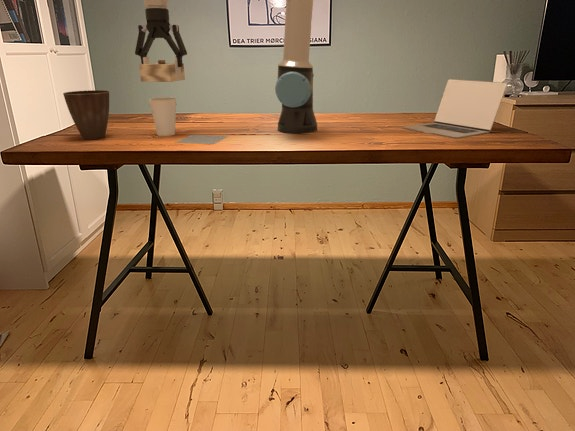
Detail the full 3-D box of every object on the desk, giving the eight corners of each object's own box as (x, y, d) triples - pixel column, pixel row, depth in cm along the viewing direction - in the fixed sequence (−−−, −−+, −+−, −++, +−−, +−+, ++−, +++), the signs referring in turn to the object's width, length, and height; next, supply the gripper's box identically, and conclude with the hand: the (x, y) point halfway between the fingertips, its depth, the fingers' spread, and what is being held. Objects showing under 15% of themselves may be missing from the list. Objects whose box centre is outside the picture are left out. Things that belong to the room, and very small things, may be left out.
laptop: (400, 129, 176) (404, 82, 170) (443, 123, 188) (448, 78, 182) (456, 140, 155) (462, 86, 149) (500, 132, 167) (507, 82, 161)
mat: (228, 136, 163) (228, 136, 163) (213, 144, 151) (213, 144, 150) (192, 135, 167) (192, 134, 166) (174, 143, 154) (174, 142, 154)
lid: (184, 79, 164) (183, 59, 161) (170, 82, 154) (168, 60, 151) (156, 79, 166) (154, 59, 164) (141, 81, 156) (138, 60, 154)
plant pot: (66, 137, 166) (57, 92, 161) (107, 132, 175) (100, 89, 170) (78, 143, 155) (70, 95, 150) (122, 137, 164) (115, 91, 159)
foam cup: (172, 138, 163) (168, 100, 158) (148, 137, 164) (144, 100, 160) (183, 133, 171) (180, 97, 167) (160, 132, 173) (156, 97, 169)
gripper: (194, 8, 153) (198, 76, 161) (131, 9, 158) (138, 75, 166) (184, 6, 146) (189, 78, 154) (118, 7, 151) (127, 77, 159)
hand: (163, 77), depth 160 cm, fingers closed on lid, 11 cm apart
